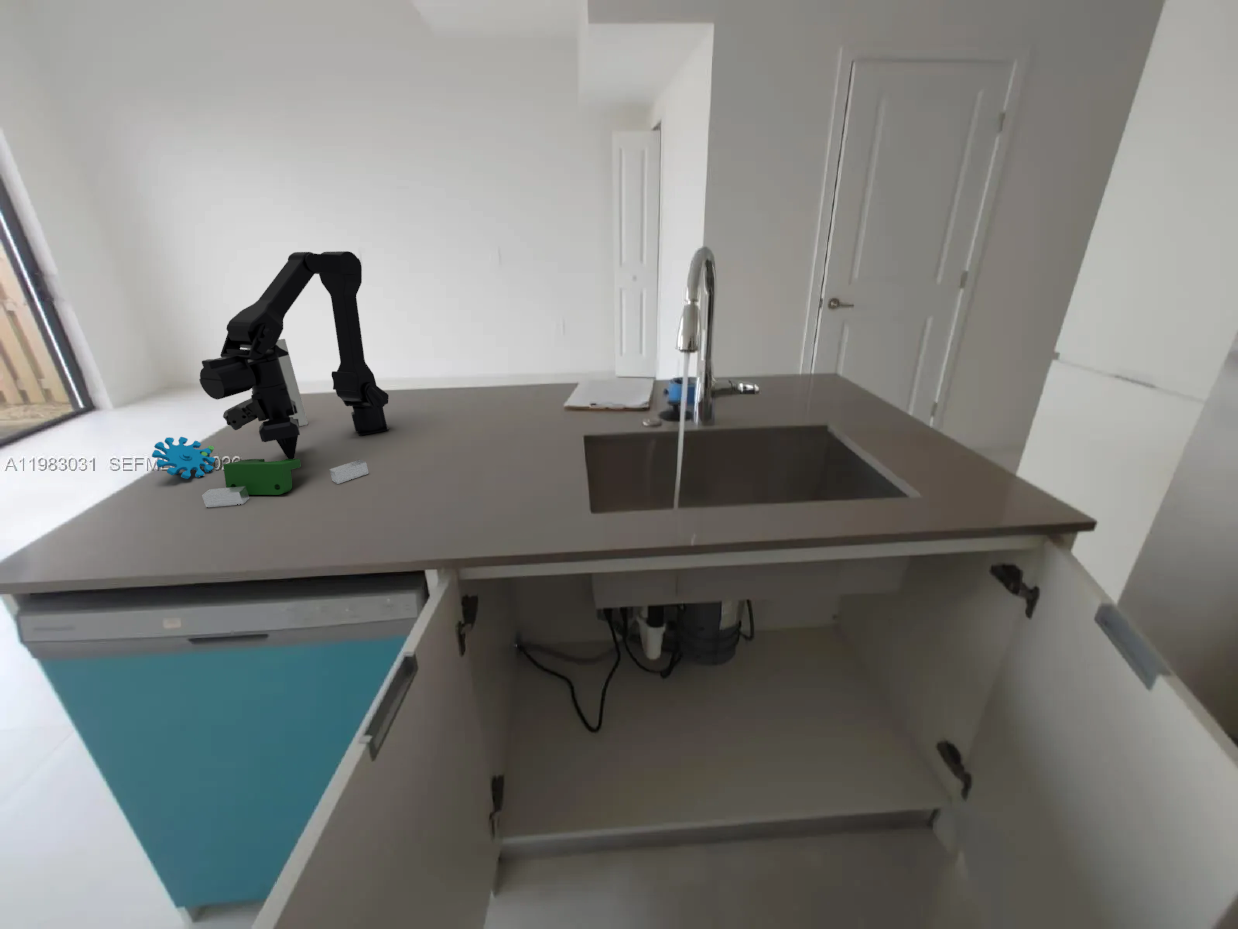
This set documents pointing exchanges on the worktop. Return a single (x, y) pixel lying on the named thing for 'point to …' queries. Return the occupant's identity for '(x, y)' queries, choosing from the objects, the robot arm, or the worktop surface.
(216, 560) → the worktop surface
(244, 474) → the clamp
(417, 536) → the worktop surface
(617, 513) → the worktop surface
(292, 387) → the paper towel roll
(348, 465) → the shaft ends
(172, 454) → the gear
